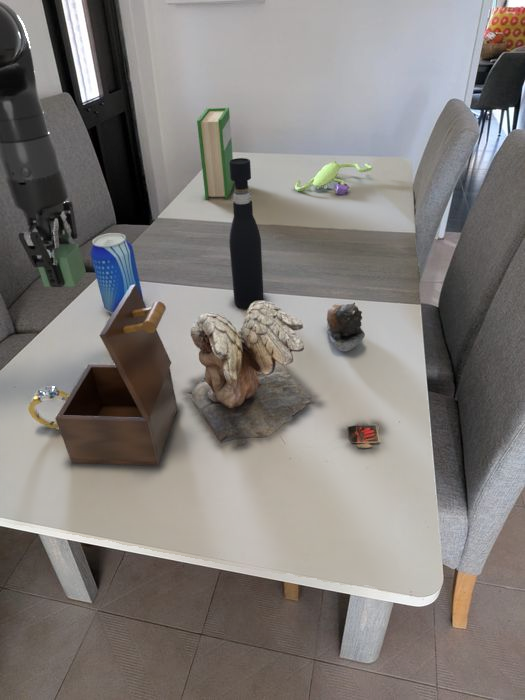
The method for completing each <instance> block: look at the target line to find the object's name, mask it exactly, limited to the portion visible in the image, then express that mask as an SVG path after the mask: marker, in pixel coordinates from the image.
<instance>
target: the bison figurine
mask: <svg viewBox="0 0 525 700" xmlns="http://www.w3.org/2000/svg"><path fill="white" fill-rule="evenodd" d="M362 313H363V311H361V310H360V309H359V307H358V306H356V303H355V302H353V303H347V304H332V305H331V306H330V307H329V308H328V309H327V314H326V322H327V326H326V333H327V335H328V337H329V342H330V343H331V344H332V346H333V347H334V348H336V349H338V350H339V351H340V352H348V351H351V350H353V349H355V347H357V346H358V345H359V344H360V343H362V341H363V339H364V338H365V336H366V333H365V332H364V330H363V328H362V320H363V316H362Z"/></svg>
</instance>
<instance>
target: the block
mask: <svg viewBox="0 0 525 700" xmlns="http://www.w3.org/2000/svg"><path fill="white" fill-rule="evenodd" d="M59 245H60V247H59V249H58V250H57V256H58V264H59V265H60V268H61V271H62V275H63V278H64V281H65V284H64V285H63V287H64V288H66V287H67V288H75V287H76V286H77V285H78V283H79V282H80V281H81V280H82V278H83V277H84V276H85V275H86V273H87V270H86V266H85V263H84V260H83V256H82V252H81V248H80V244H78V243H74V244H59ZM47 252H48V254H49V256H50V258H51V254H50V250H47ZM36 256H37V258H38V255H36ZM38 259H39V258H38ZM37 268H38V272H39V274H40V277H41V280H42V283H43V286H44V287H45V288H52V287H51V286H50V284H49V282H48V278H47V275H46V272H45V269H44V267H37ZM63 287H62V288H63Z"/></svg>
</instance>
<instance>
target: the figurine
mask: <svg viewBox="0 0 525 700" xmlns="http://www.w3.org/2000/svg"><path fill="white" fill-rule="evenodd" d="M364 166H365V167H366V168H362V167H360V165H359V164H358V163H351V162H347V163H337V161H335V160H333V161H331V162H330V163H328V164H325V165H324V166H323V167H322V168H321V169H320V170H319V171H318V173H317V174H316V175H315V176H314V177H312V178H311V179H310V180H309V181H307V182H306V184H305V185H302V186H300V185H301V183H302V181H301V180H297V182H296V184H295V186H294V187H295V191H296V192H302V191H304V190H306V189H309V188H310V187H311V186H312V185H313V186H314V187H315V189H318V190H319V189H320V188H323V189H324V190H327V189H328V187H329V185H328V184H330V183H331V182H334V183H336V185H335V187H334V188H333V190H334V192H335V194H337V195H345V194H346V193H347V192H348V190H349V189H350V186H349V185H348V183H346V182H345V180H342V179H339V178H336V177H337V175H338V174H339V171H340V169H341V168H356V169H357V171H358V172H359V173H366V172H370V171H372V169H373V165H370V164H369V163H364Z"/></svg>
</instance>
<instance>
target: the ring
mask: <svg viewBox="0 0 525 700" xmlns="http://www.w3.org/2000/svg"><path fill="white" fill-rule="evenodd" d="M43 386H44V387H42V388H40V389H36V392H35V393H34V394H33V396H32V398H31V399H30V403H29V405H28V407H27V409H28V413H29V415H30V416H31V418H32V419H34V420H35V421H36V422H38V423H39V424H41V425H43V426H45V427H48V428H51V429H56V430H58V431H60V430H59V427H58V424H57V422H56V421H52V420H49V419H47V418H45V417H43V416H42V415H41V414H40V413H39V412H38V410H37V407H36V406H37V405H39V404H41V403H43V402H45V401H59V402H61V403H63V404H64V403H65V402H66V400H67V398H68V397H69V395H70V394H68V393H66V392H65V391H63V390H60V389H58V388H57V387H56V386H54V385H46V384H45V385H43Z"/></svg>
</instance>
